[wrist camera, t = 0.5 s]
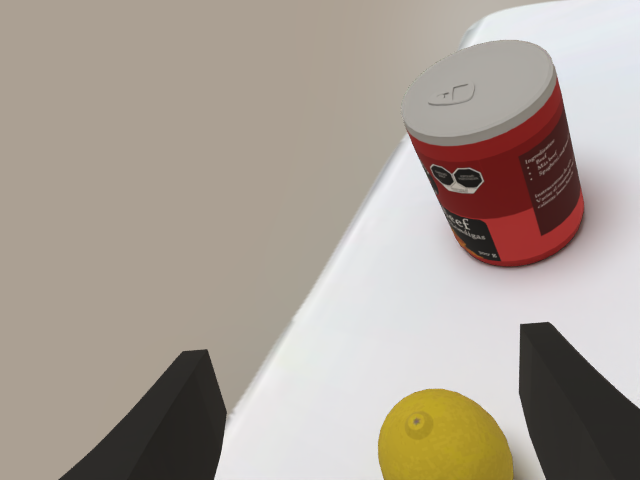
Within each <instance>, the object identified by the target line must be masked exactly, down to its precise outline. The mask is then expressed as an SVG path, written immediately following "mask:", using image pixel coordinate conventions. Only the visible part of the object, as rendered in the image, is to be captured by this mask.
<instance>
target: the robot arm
mask: <svg viewBox="0 0 640 480" xmlns="http://www.w3.org/2000/svg"><path fill="white" fill-rule="evenodd" d="M519 395H520V399H521V403H522V407H523V412H524V416H525V420H526V424H527V427H528V431H529V435H530V438H531V441H532V443H533V446H534V449H535V451H536V454H537V457H538V459H539V462H540V465H541V467H542V470H543V473H544V475H545V478H546V480H640V409H639V408H638V407H637V406H636V405H634V404H633V403H632V402H631V401H630V400H628V399H627V398H626V397H625V396H624V395H623V394H622V393H621V392H619V391H618V390H617V389H616V388H615V387H614V386H613V385H612V384H611V383H610V382H609V381H607V380H606V379H605V378H604V377H603V376H602V375H601V374H600V373H599V372H598V371H597V370H596V369H595V368H594V367H593V366H592V365H591V364H590V363H589V362H588V361H587V360H586V359H585V358H584V357H583V356H582V355H581V354H580V353H579V352H578V351H577V350H576V349H575V348H574V347H573V346H572V345H571V344H570V343H569V342H568V341H567V340H566V339H565V338H564V337H563V336H562V334H561V333H560V332H559V331H558V330H557V329H556V328H555V327H554V326H553V325H552V324H551V323H549V322H542V323H530V324H520V364H519ZM226 414H227V411H226V408H225V405H224V402H223V398H222V395H221V392H220V389H219V385H218V382H217V379H216V376H215V372H214V369H213V366H212V363H211V359H210V356H209V353H208V350H207V349H205V350H194V351H183V352H182V353H181V354H180V355H179V356H178V357H177V358H176V359H175V361H174V362H173V363H172V364H171V365H170V366H169V368H168V369H167V370H166V371H165V372H164V373H163V375H162V376H161V377H160V378H159V379H158V380H157V381H156V383H155V384H154V385H153V386H152V387H151V388H150V390H149V391H148V392H147V393H146V394H145V395H144V396H143V397H142V399H141V400H140V401H139V402H138V403H137V404H136V405H135V406H134V407H133V409H132V410H131V411H130V412H129V413H128V415H126V416H125V417H124V418H123V419H122V420H121V421H120V422H119V423H118V424H117V425H116V426H115V427H114V429H113V430H112V431H111V432H110V433H109V434H108V435H107V436H106V437H105V438H104V439H103V440H102V441H101V442H100V443H99V444H98V445H97V446H96V447H95V448H94V449H93V450H92V451H90V453H88V454H87V455H86V456H85V457H84V458H83V459H82V460H81V461H80V462H78V463H77V464H76V465H75V466H74V467H73V468H71V470H69V471H68V472H67V473H66V474H65V475H63V476H62V477H61V478H60V479H59V480H214V477H215V474H216V470H217V466H218V462H219V459H220V455H221V450H222V444H223V437H224V430H225V422H226Z"/></svg>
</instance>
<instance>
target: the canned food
mask: <svg viewBox="0 0 640 480" xmlns="http://www.w3.org/2000/svg"><path fill="white" fill-rule="evenodd" d="M401 114H402V117H403V121H404V124H405V127H406V130H407V132H408V134H409V136H410V139H411V141H412V144H413V146H414V148H415V151H416V153H417V155H418V157H419V159H420V161H421V164H422V166H423V168H424V170H425V172H426V175H427V177H428V179H429V181H430V183H431V185H432V188H433V190H434V192H435V194H436V196H437V198H438V201H439V203H440V205H441V207H442V209H443V212H444V214H445V216H446V218H447V220H448V222H449V225H450V227H451V229H452V231H453V233H454V235H455V238H456V239H457V241H458V242H459V244H460V245H461V246H462V247H463V248H464V249H465V250H466V251H467V252H469V253H470V254H471V255H472V256H473V257H475V258H477V259H479V260H480V261H482V262H485V263H489V264H492V265H498V266H521V265H526V264H531V263H534V262H537V261H540V260H543V259H545V258H547V257H549V256H551V255H553V254H555V253H556V252H558V251H559V250H561V249H562V248H563V247H565V246H566V245H567V244H568V243H569V242H570V240H571V239H572V238H573V237H574V235H575V234H576V232H577V231H578V228H579V225H580V223H581V219H582V216H583V211H584V200H583V196H582V191H581V186H580V181H579V176H578V171H577V167H576V162H575V157H574V152H573V147H572V142H571V138H570V133H569V128H568V123H567V118H566V113H565V109H564V104H563V99H562V94H561V90H560V86H559V82H558V78H557V73H556V70H555V66H554V65H553V62H552V59H551V57H550V55H549V54H548V53H547V51H546V50H544V49H543V48H541V47H540V46H538V45H536V44H533V43H530V42H526V41H519V40H499V41H491V42H486V43H482V44H477V45H474V46H471V47H468V48H465V49H462V50H460V51H457V52H455V53H453V54H451V55H449V56H447V57H445V58H443V59H442V60H440V61H438V62H436V63H435V64H434V65H432V66H431V67H429V68H428V69H426V70H425V71H424V72H423V73H422V74H421V75H420V76H419V77H418V78H416V79H415V81H414V82H413V83H412V84H411V86H410V87H409V88H408V90H407V92H406V93H405V95H404V97H403V101H402V104H401Z"/></svg>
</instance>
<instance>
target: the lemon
mask: <svg viewBox="0 0 640 480" xmlns="http://www.w3.org/2000/svg"><path fill="white" fill-rule="evenodd" d="M378 458H379V464H380V467H381V471H382V474H383V478H384V480H513V461H512V455H511V452H510V449H509V446H508V443H507V440H506V437H505V435H504V434H503V432H502V430H501V429H500V427H499V426H498V424H497V423H496V421H495V420H494V418H493V417H492V416H491V415H490V414H489V413H487V412H486V411H485V410H484V409H483V408H482V407H481V406H480V405H479V404H477V403H476V402H474V401H473V400H471V399H469V398H467V397H465V396H463V395H461V394H459V393H457V392H453V391H449V390H445V389H426V390H422V391H418V392H415V393H413V394H411V395H409V396H407V397H405V398H403V399H402V400H401V401H400V402H399V403H397V404H396V405H395V406H394V407H393V409H392V410H391V411H390V412H389V414H388V415H387V417H386V419H385V421H384V423H383V425H382V427H381V430H380V435H379V440H378Z"/></svg>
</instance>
